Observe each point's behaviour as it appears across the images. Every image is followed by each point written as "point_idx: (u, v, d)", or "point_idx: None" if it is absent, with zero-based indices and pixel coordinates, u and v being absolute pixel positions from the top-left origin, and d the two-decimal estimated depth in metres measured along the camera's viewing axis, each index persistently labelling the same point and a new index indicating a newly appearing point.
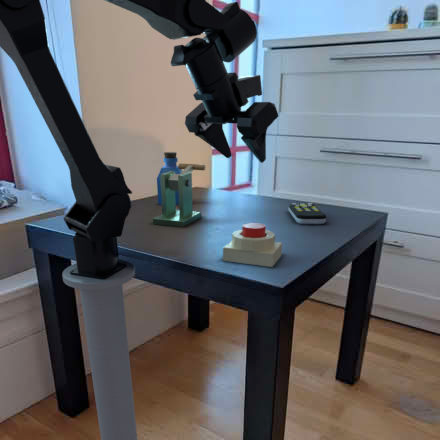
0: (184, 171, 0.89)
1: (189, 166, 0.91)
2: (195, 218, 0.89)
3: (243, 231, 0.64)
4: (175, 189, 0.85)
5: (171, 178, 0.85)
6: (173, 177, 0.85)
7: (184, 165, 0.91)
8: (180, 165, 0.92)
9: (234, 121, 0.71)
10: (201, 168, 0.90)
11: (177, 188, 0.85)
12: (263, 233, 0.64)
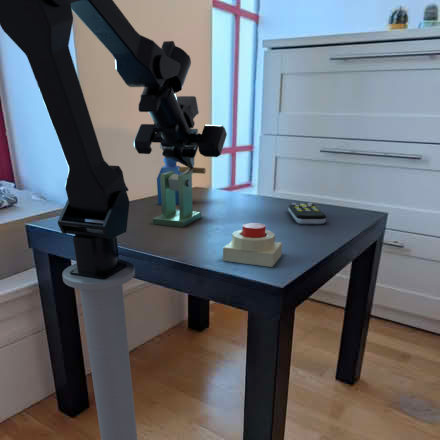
0: None
1: (189, 169, 0.91)
2: (195, 218, 0.89)
3: (243, 231, 0.64)
4: (175, 189, 0.85)
5: (171, 177, 0.85)
6: (173, 177, 0.85)
7: (184, 168, 0.92)
8: (180, 168, 0.92)
9: None
10: (201, 171, 0.91)
11: (177, 188, 0.85)
12: (263, 233, 0.64)
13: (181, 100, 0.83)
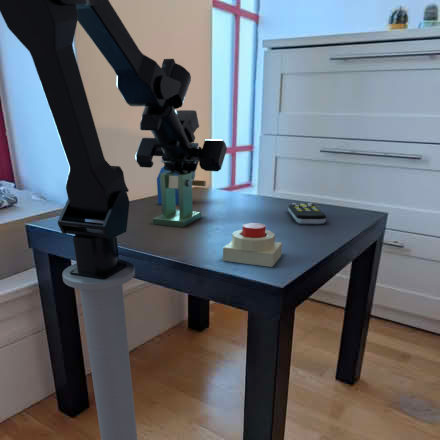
0: None
1: None
2: (195, 218, 0.89)
3: (243, 231, 0.64)
4: (174, 186, 0.85)
5: (172, 176, 0.85)
6: None
7: None
8: None
9: None
10: (202, 183, 0.92)
11: (176, 185, 0.84)
12: (263, 233, 0.64)
13: (182, 114, 0.84)
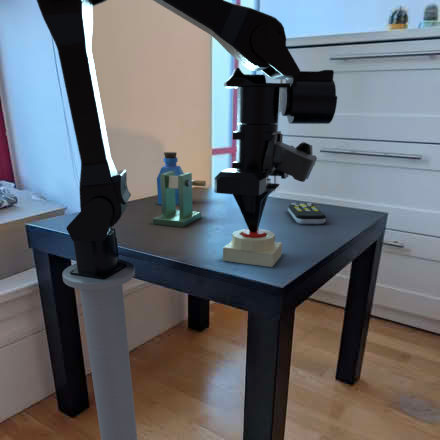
0: None
1: None
2: (195, 218, 0.89)
3: None
4: (174, 186, 0.85)
5: (172, 176, 0.85)
6: None
7: None
8: None
9: None
10: (202, 183, 0.92)
11: (176, 185, 0.84)
12: None
13: (303, 153, 0.58)
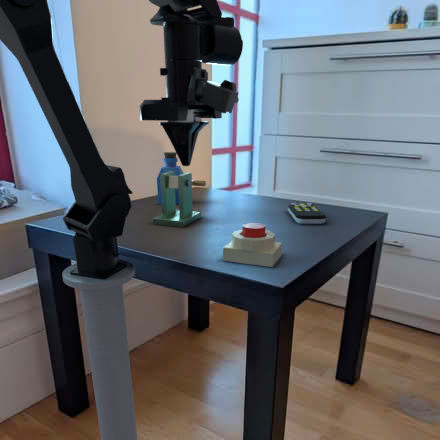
0: None
1: None
2: (195, 218, 0.89)
3: (243, 231, 0.64)
4: (174, 186, 0.85)
5: (172, 176, 0.85)
6: None
7: None
8: None
9: None
10: (202, 183, 0.92)
11: (176, 185, 0.84)
12: (263, 233, 0.64)
13: (224, 88, 0.64)
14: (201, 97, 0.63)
